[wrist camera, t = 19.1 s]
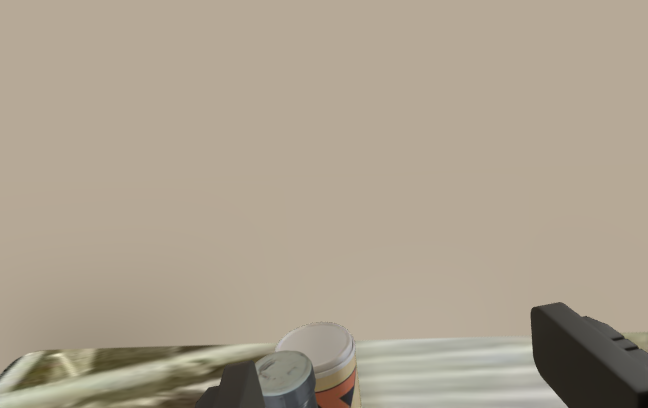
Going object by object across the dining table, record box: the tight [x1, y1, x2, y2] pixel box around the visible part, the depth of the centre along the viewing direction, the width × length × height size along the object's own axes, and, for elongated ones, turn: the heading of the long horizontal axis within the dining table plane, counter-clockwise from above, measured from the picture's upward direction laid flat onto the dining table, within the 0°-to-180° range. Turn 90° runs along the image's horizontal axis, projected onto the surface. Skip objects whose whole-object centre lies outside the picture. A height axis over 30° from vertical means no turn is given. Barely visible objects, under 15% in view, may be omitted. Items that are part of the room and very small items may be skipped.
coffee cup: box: [275, 322, 361, 408], centre depth 46 cm, size 9×9×12 cm
